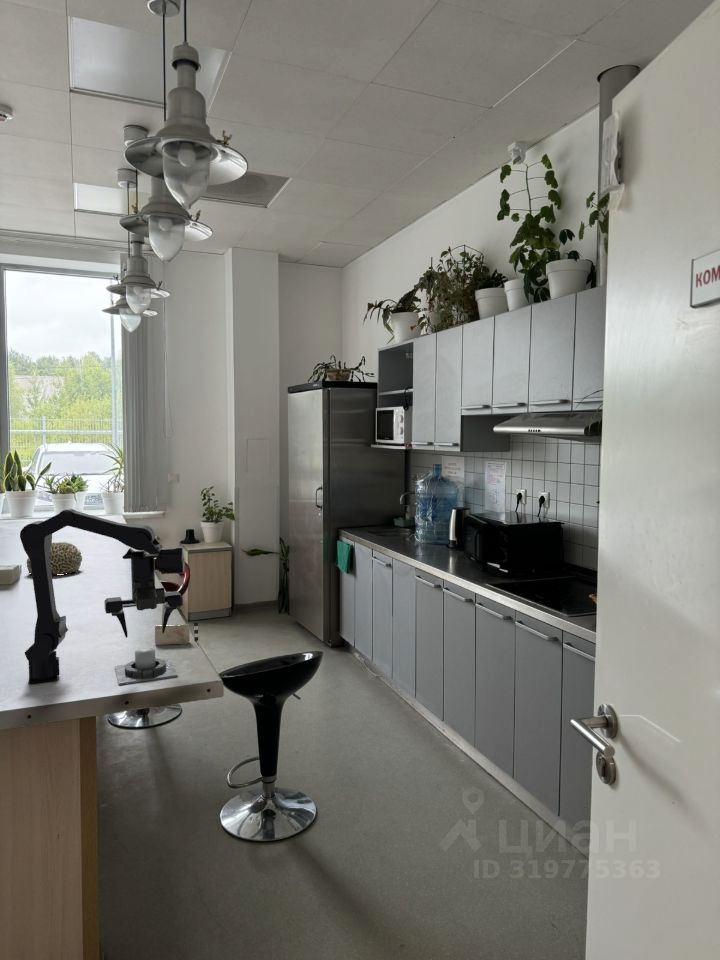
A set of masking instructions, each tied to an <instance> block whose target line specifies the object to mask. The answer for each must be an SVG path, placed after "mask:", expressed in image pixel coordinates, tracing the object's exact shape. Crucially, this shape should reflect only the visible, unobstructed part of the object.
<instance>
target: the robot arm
mask: <svg viewBox="0 0 720 960" xmlns="http://www.w3.org/2000/svg"><path fill="white" fill-rule="evenodd" d="M66 527H71V528H75V529H79V530H81V531H86V532H88V533H93V534H97V535H101V536H104V537H108V538H111V539H114V540H117V541H119V542H120V543H122V544H123V545H125V546H126V547H130V548H128V549H127V550H126V551H127V552H126V553H125V554H123V555H122V559H123V560H129V559H130V572H131V573H130V576H131V577H130V578H131V599H122V597H121V596H116V597H107V598H105V600H104V612H105V614H110V615H111V616H112V617H116V619H117V620H118V622H119V623H120V625H121V629H122V631H123V633H124V636H125V639H126V638H128V627H127V622H126V616H125V611H124V608H132V607H133V608H135V607H136V610H137V611H145V610H155V609H157V608H158V605H162V611H161V612H162V614H161V625H162V633H164V631H165V628H166V625H168V621H169V618H170V616H171V614H172V612H173V611H174V610H178V607H181V606H183V605H184V602H183V601H184V599H183V595H182V594H181V593H180V592H179V591H177V590H175V591H166V592H165V588H164V587H156V575H155V574H156V572H155V571H156V570H157V571H158V573H161V575H171V574H172V575H173V574H174V575H176V574H185V569H186V567H185V565H186V564H185V562H186V561H185V560H186V559H185V556H184V547H183V546H176V547H165V548H164V547H163V545H162V544H161V543H160V542H159V541H158V540H157V538H156V535H155V531H154V529H153V528H152V527H151V526H149V525H146V524H136V523H121V522H116V521H115V520H114V521H113V520H110V519H108V518H107V519H106V518H103V517H99V516H95V515H92V514H89V513H84V512H82V511H77V510H75V509H74V508H67V509H64V510H61V511H60V512H59V513H57V514H55V515H53V516H52V517H50V518H47V519H46V520H36V521H33V522H30V523H28V524H26V525H25V526H23V528H22V529H21V530H20V532H19V538H20V541H21V544H22V547H23V550H24V552H25V553H26V555H27V558H28V557H29V559H30V563H31V570H32V575H31V578H32V585H33V591H34V598H35V607H36V614H37V615H36V616H37V617H36V622H35V627H34V639H33V641H34V643H33V644H31V645H30V647H29V648H27V650H25V651H24V656H25V658H26V660H27V661H28V681H27V683H28V685H33V684H39V683H47V682H54V681H58V677H59V676H60V657H59V656H57V649H58V646H59V645H61V643H62V642H63V641H64V639H65V638H66V635H67V632H68V631H69V629H68V627H67V616H66V615H62V616H60V614H59V612H58V610H57V606H56V597H55V591H54V583H53V573H51V566H50V558H49V555H50V550H51V545H52V543H53V534H54V533H56V532H59V531H60V530H62V529H64V528H66ZM133 549H134V550H133ZM155 558H156V559H155ZM155 561H156V562H155ZM155 563H156V565H155ZM155 566H156V569H155Z"/></svg>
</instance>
